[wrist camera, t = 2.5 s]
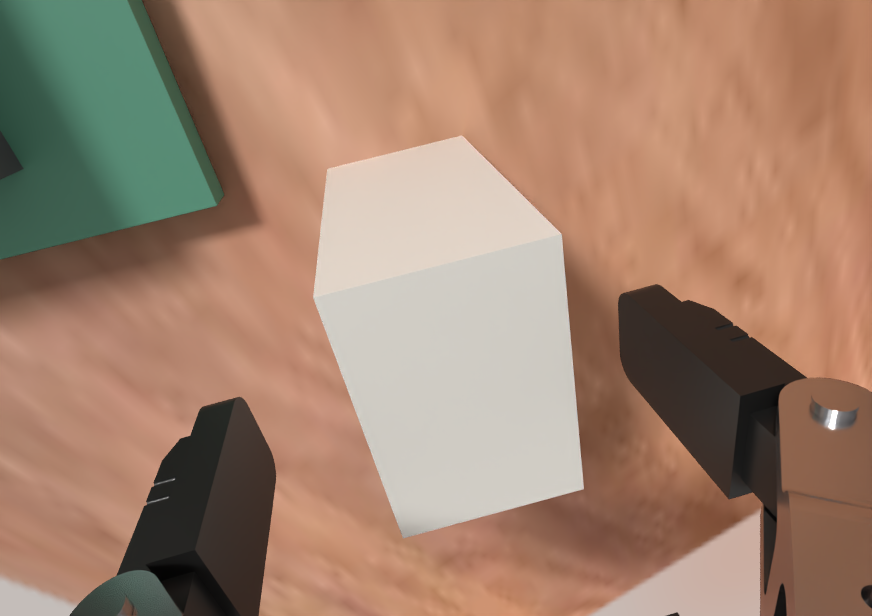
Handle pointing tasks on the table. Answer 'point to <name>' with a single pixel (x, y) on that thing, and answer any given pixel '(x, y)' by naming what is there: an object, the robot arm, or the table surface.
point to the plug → (450, 333)
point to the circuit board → (91, 125)
